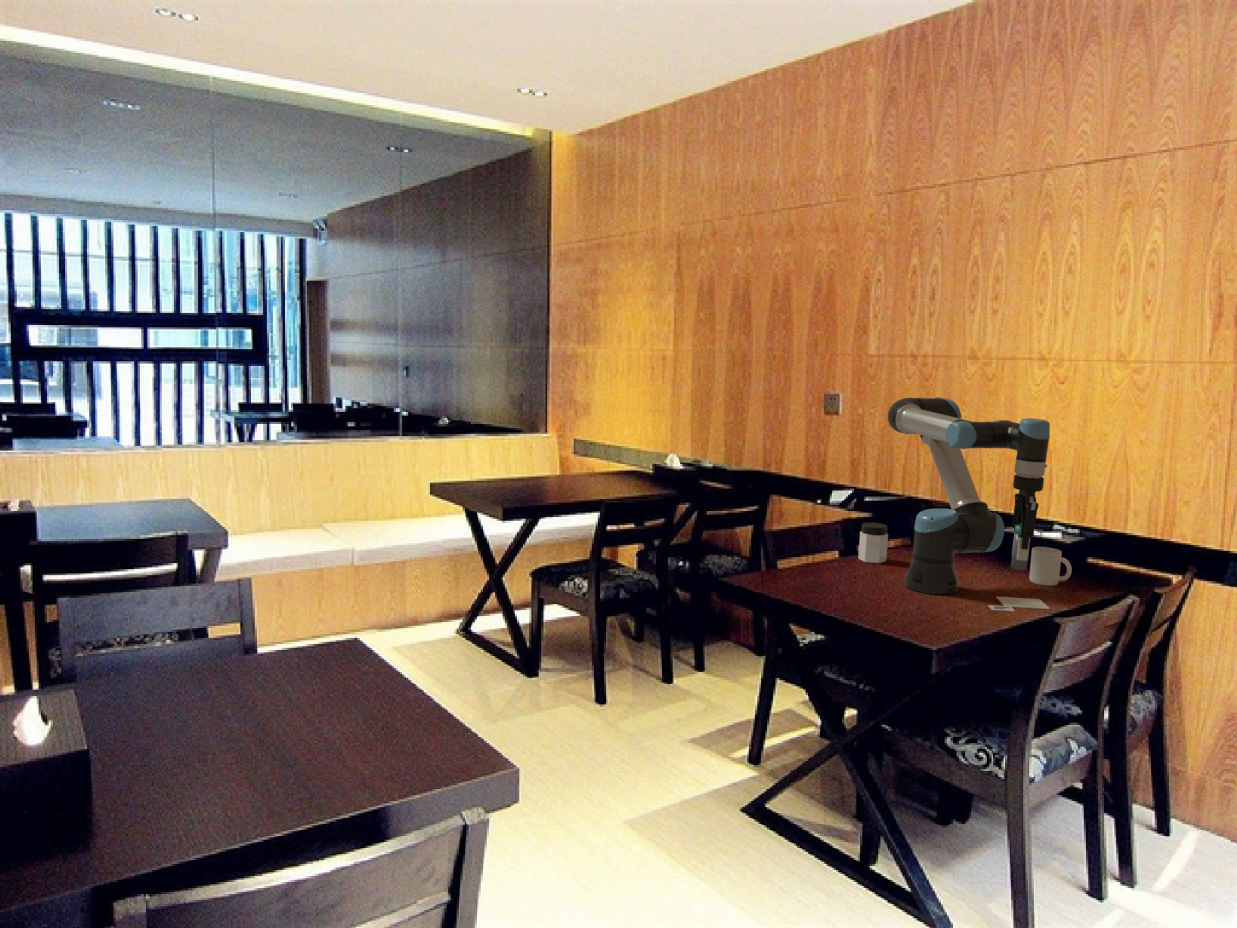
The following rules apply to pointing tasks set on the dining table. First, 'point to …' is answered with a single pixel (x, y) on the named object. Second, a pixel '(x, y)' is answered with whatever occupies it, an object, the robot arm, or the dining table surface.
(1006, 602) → the paper
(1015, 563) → the grey teal battery
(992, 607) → the word card
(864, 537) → the jar
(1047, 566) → the mug
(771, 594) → the dining table surface
